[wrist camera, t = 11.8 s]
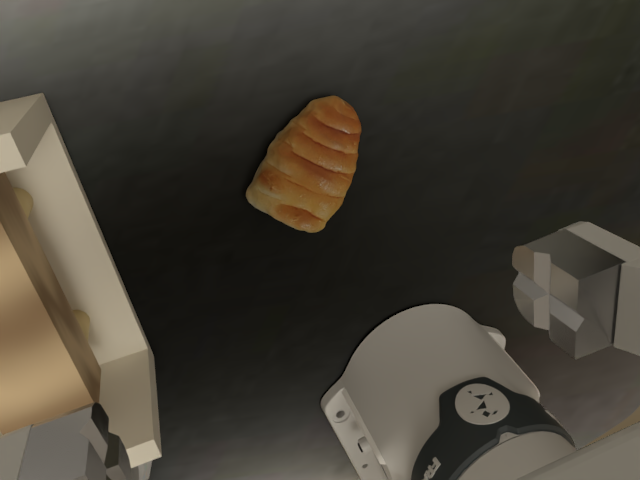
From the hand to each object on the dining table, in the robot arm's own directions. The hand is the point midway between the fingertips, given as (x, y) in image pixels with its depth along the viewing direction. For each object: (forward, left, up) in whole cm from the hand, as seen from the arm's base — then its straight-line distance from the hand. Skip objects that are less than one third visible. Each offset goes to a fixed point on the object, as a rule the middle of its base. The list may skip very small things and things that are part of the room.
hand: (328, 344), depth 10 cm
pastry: (-6, -6, -27) cm, 29 cm away
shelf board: (-8, +13, -23) cm, 27 cm away
